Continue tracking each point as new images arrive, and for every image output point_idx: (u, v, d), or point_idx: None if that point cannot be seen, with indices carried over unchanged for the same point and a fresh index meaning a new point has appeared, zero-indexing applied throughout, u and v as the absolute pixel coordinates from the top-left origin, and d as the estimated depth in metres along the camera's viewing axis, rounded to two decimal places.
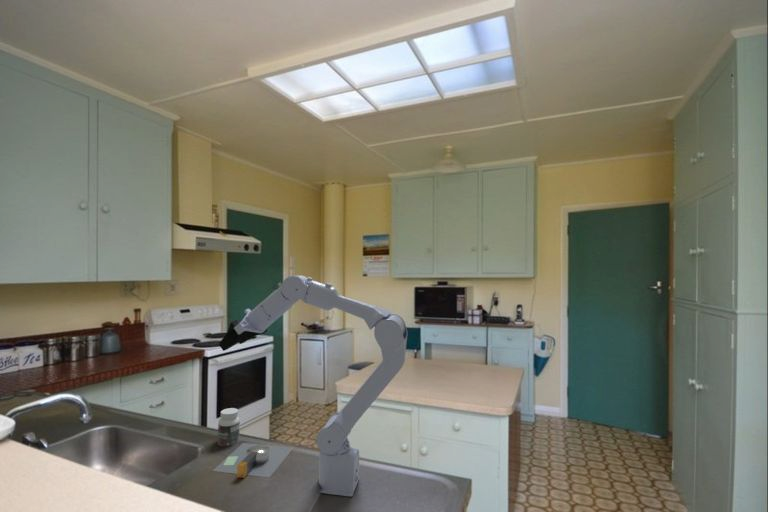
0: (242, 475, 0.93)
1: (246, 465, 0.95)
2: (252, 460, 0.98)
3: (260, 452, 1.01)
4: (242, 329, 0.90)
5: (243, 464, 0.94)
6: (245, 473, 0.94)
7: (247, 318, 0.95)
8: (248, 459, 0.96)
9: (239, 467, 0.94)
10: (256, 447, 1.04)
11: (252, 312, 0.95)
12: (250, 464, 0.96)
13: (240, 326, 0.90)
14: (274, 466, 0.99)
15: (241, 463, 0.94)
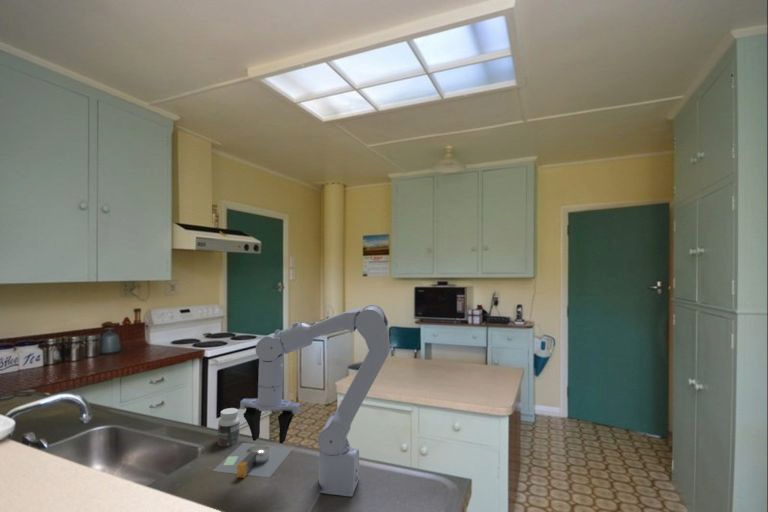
0: (242, 475, 0.93)
1: (246, 465, 0.95)
2: (252, 460, 0.98)
3: (260, 452, 1.01)
4: (299, 405, 0.94)
5: (243, 464, 0.94)
6: (245, 473, 0.94)
7: (277, 406, 0.93)
8: (248, 459, 0.96)
9: (239, 467, 0.94)
10: (256, 447, 1.04)
11: (274, 399, 0.93)
12: (250, 464, 0.96)
13: (298, 406, 0.94)
14: (274, 466, 0.99)
15: (241, 463, 0.94)
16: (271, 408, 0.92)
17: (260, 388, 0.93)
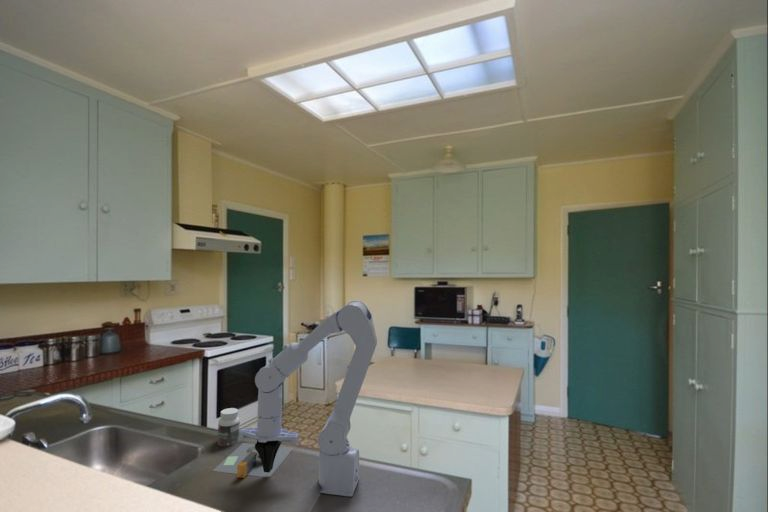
0: (242, 475, 0.93)
1: (246, 465, 0.95)
2: (252, 460, 0.98)
3: None
4: (298, 435, 0.94)
5: (243, 464, 0.94)
6: (245, 473, 0.94)
7: (276, 436, 0.93)
8: (248, 459, 0.96)
9: (239, 467, 0.94)
10: None
11: (273, 430, 0.93)
12: (250, 464, 0.96)
13: (297, 436, 0.94)
14: (274, 466, 0.99)
15: (241, 463, 0.94)
16: (270, 439, 0.92)
17: (259, 419, 0.93)
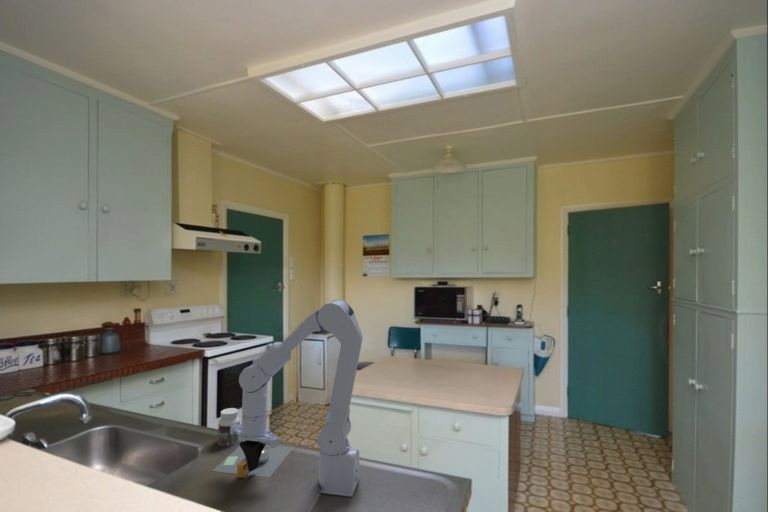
0: (242, 475, 0.93)
1: (246, 465, 0.95)
2: None
3: None
4: (278, 439, 0.93)
5: (243, 464, 0.94)
6: (245, 473, 0.94)
7: (257, 437, 0.93)
8: None
9: (239, 467, 0.94)
10: None
11: (253, 430, 0.93)
12: None
13: (275, 440, 0.92)
14: (274, 466, 0.99)
15: (241, 463, 0.94)
16: (250, 439, 0.93)
17: (242, 417, 0.94)
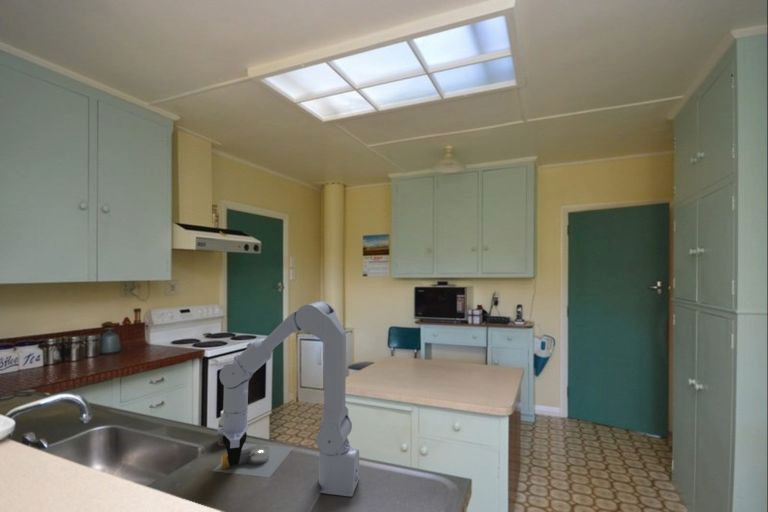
0: (222, 466, 0.97)
1: (227, 458, 0.98)
2: (240, 456, 0.99)
3: (254, 453, 1.00)
4: (237, 440, 0.91)
5: (224, 456, 0.97)
6: (226, 466, 0.97)
7: (228, 433, 0.95)
8: None
9: (221, 457, 0.98)
10: (261, 447, 1.04)
11: (226, 425, 0.95)
12: None
13: (234, 441, 0.91)
14: (274, 466, 0.99)
15: (225, 454, 0.98)
16: (223, 432, 0.95)
17: None
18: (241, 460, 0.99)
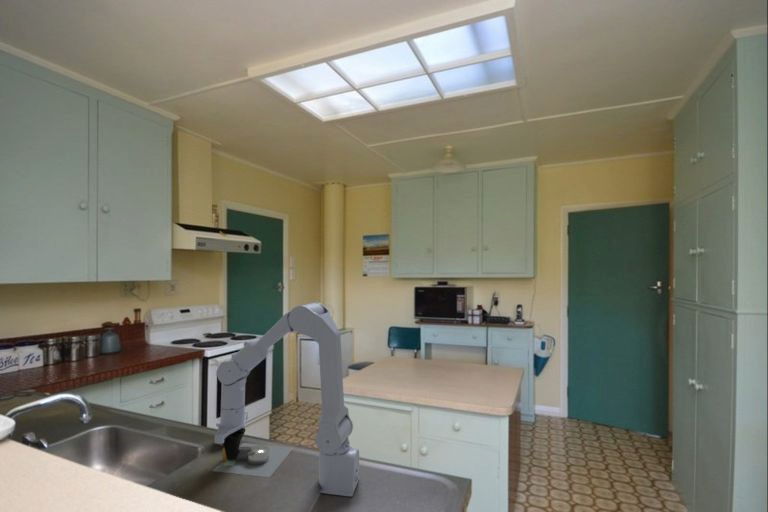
0: None
1: None
2: (239, 452, 1.01)
3: (251, 452, 1.01)
4: (221, 437, 0.93)
5: None
6: (226, 458, 1.01)
7: (221, 427, 0.98)
8: None
9: None
10: (263, 448, 1.03)
11: (221, 420, 0.98)
12: None
13: (217, 437, 0.93)
14: (274, 466, 0.99)
15: None
16: (219, 426, 0.99)
17: None
18: (240, 456, 1.01)
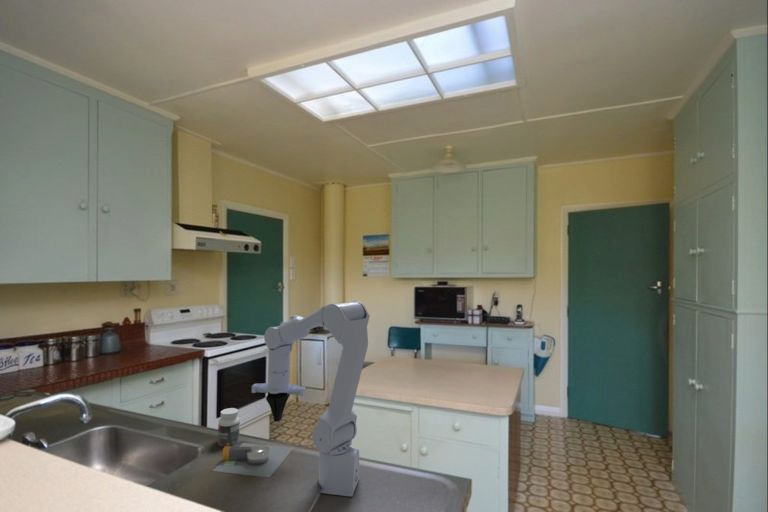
0: None
1: (227, 451, 1.01)
2: (239, 452, 1.01)
3: (251, 452, 1.01)
4: None
5: (225, 448, 1.01)
6: (226, 458, 1.01)
7: None
8: (235, 448, 1.02)
9: None
10: (263, 448, 1.03)
11: (283, 383, 1.04)
12: (235, 454, 1.01)
13: (304, 389, 1.06)
14: (274, 466, 0.99)
15: (227, 447, 1.02)
16: (280, 391, 1.04)
17: (270, 373, 1.04)
18: (240, 456, 1.01)
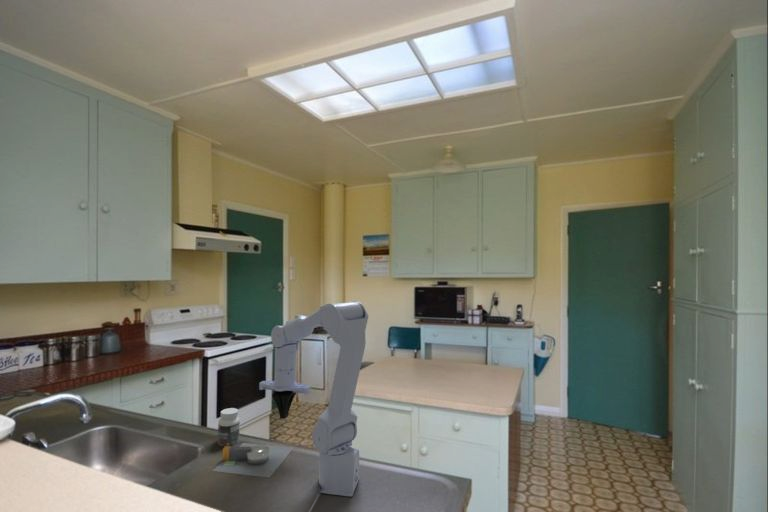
0: None
1: (227, 451, 1.01)
2: (239, 452, 1.01)
3: (251, 452, 1.01)
4: (310, 387, 1.08)
5: (225, 448, 1.01)
6: (226, 458, 1.01)
7: (291, 387, 1.06)
8: (235, 448, 1.02)
9: None
10: (263, 448, 1.03)
11: (288, 381, 1.06)
12: (235, 454, 1.01)
13: (308, 388, 1.07)
14: (274, 466, 0.99)
15: (227, 447, 1.02)
16: (285, 389, 1.06)
17: (276, 371, 1.07)
18: (240, 456, 1.01)
